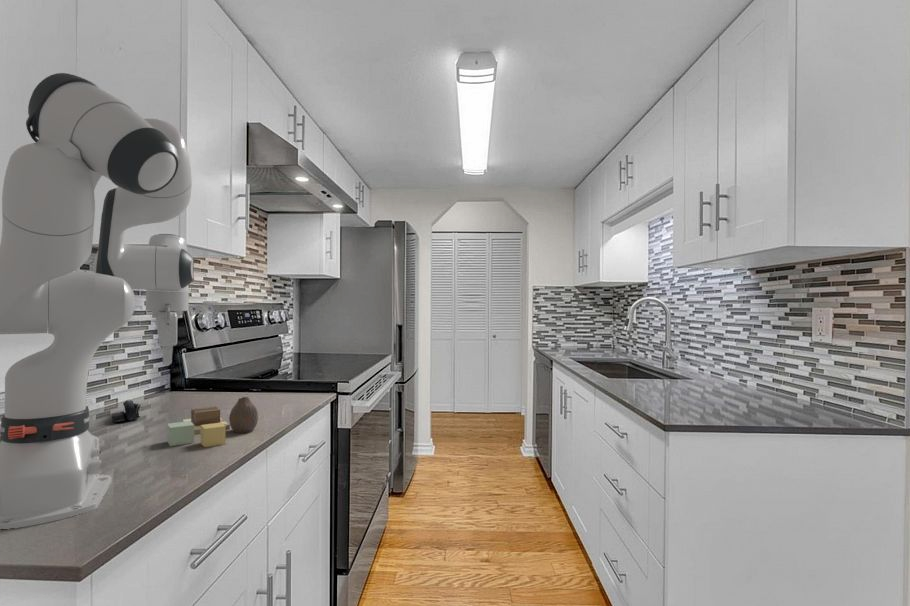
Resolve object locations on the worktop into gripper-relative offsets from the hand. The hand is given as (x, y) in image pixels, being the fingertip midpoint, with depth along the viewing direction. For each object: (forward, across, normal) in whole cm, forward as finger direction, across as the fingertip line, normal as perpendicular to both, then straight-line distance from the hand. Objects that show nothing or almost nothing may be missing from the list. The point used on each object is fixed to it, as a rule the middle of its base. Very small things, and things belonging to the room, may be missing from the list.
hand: (167, 361), depth 118 cm
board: (+20, +12, -9) cm, 25 cm away
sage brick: (+20, -2, -3) cm, 20 cm away
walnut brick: (+18, +12, -9) cm, 24 cm away
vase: (+20, +2, -18) cm, 26 cm away
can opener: (+21, +36, +9) cm, 42 cm away
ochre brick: (+19, -7, -10) cm, 23 cm away
